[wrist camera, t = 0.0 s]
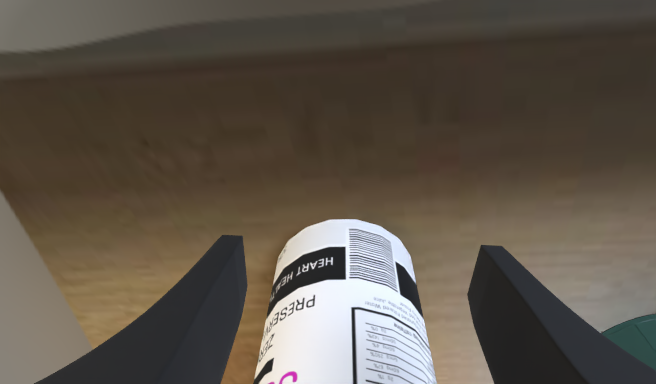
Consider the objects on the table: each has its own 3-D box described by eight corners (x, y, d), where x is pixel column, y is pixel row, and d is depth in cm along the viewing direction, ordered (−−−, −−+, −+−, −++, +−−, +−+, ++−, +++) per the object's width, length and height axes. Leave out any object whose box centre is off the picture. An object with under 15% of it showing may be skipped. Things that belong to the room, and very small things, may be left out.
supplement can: (407, 311, 28) (461, 626, 15) (284, 312, 29) (237, 619, 16) (415, 210, 24) (498, 529, 11) (271, 213, 24) (192, 524, 12)
